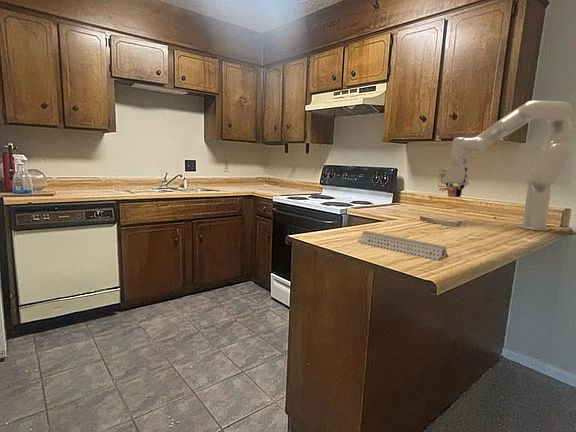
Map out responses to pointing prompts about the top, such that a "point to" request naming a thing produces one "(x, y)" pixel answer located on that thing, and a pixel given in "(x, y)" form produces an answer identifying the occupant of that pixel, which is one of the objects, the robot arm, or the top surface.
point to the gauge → (451, 190)
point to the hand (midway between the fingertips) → (454, 196)
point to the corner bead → (404, 245)
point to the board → (443, 220)
